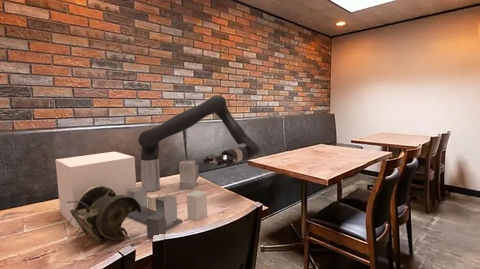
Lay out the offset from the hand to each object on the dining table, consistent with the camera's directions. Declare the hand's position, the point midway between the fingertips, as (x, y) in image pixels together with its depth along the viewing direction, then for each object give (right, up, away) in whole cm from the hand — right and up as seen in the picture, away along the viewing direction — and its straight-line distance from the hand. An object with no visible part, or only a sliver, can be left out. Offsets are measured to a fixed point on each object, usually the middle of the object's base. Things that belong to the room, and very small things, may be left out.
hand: (210, 162), depth 121 cm
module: (-5, -22, -9) cm, 24 cm away
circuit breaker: (-16, -17, +33) cm, 40 cm away
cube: (-50, -22, -2) cm, 54 cm away
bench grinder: (-37, -24, -25) cm, 50 cm away
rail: (-23, -22, -11) cm, 34 cm away
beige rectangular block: (-27, -21, +3) cm, 34 cm away
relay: (-17, -24, -25) cm, 38 cm away
